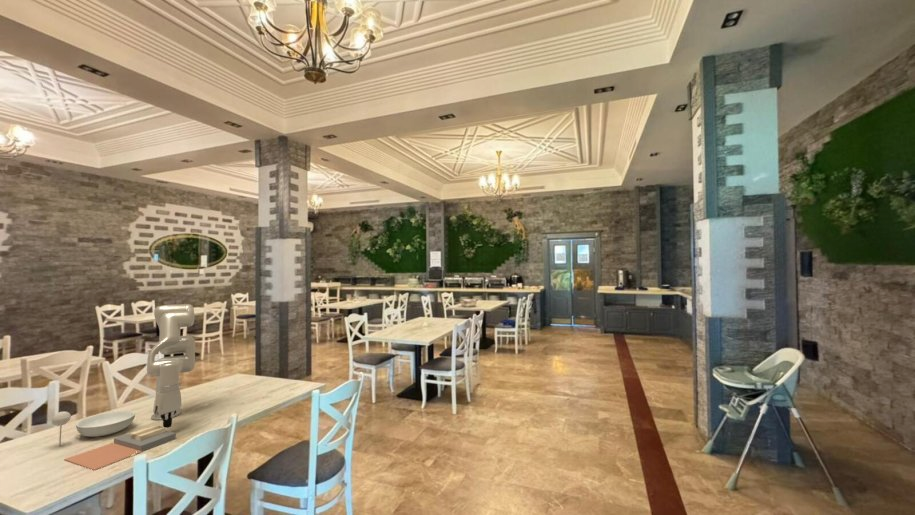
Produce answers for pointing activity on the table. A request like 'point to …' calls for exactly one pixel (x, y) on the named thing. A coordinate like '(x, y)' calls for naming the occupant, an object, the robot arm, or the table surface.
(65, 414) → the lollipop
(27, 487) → the table surface
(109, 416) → the serving bowl
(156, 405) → the robot arm
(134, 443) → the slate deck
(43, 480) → the table surface
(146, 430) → the slatted wooden pallet
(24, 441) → the table surface
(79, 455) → the rust mat
